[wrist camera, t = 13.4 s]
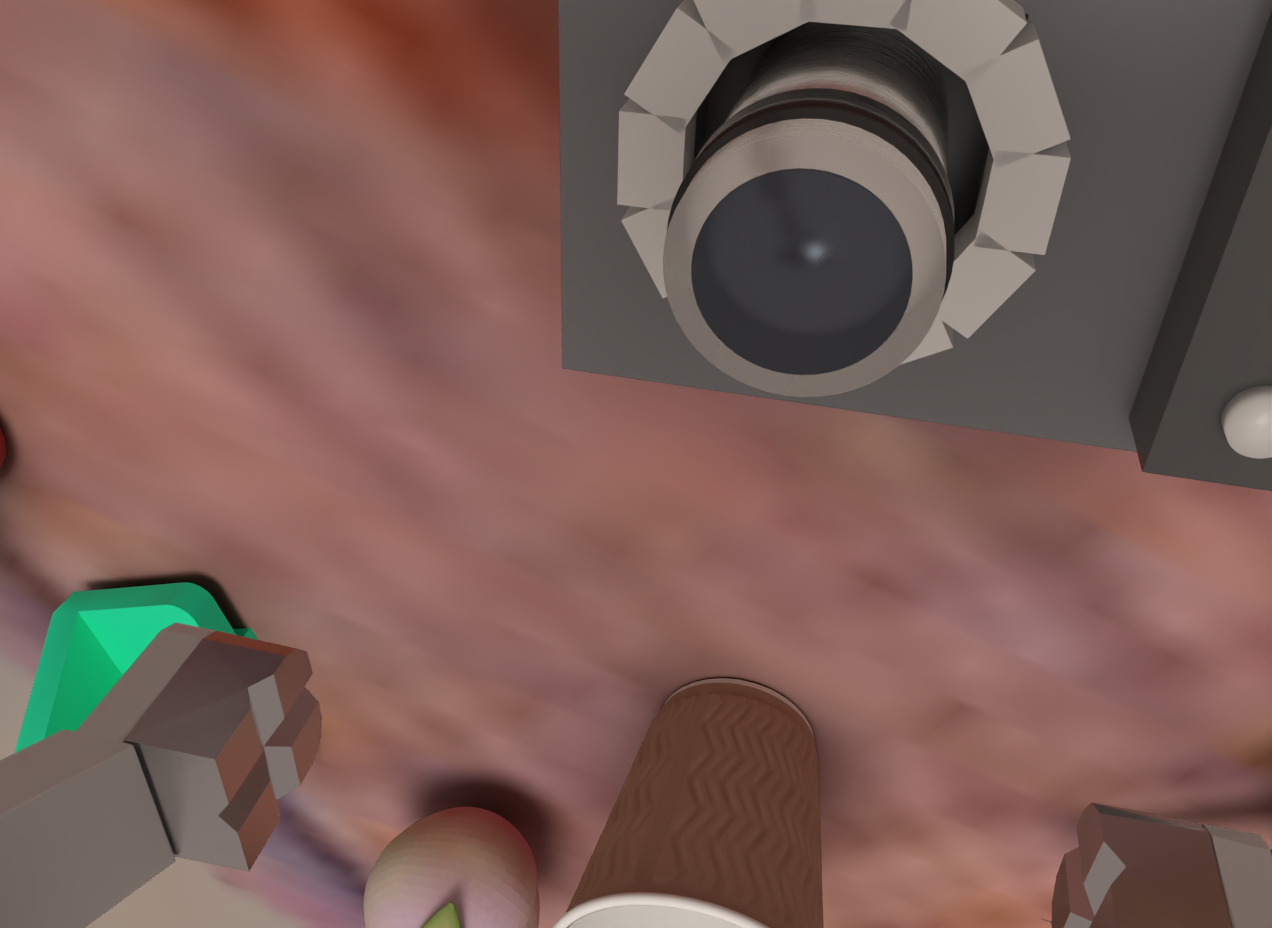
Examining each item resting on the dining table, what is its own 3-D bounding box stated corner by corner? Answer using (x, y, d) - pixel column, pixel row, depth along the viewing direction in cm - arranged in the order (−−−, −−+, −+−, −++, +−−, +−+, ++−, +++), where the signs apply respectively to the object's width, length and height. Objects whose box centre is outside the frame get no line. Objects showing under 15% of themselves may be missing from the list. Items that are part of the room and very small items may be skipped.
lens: (746, -4, 28) (659, 114, 20) (975, 15, 27) (984, 147, 19) (728, 209, 31) (648, 385, 23) (932, 233, 30) (924, 426, 22)
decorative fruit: (403, 741, 54) (308, 923, 46) (562, 773, 52) (494, 966, 44) (422, 856, 59) (340, 1037, 51) (567, 888, 58) (506, 1079, 50)
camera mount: (325, 746, 56) (218, 927, 47) (206, 748, 58) (85, 920, 50) (215, 565, 50) (72, 736, 41) (88, 577, 52) (-71, 740, 44)
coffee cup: (671, 816, 52) (610, 1067, 43) (586, 662, 47) (496, 905, 38) (883, 801, 48) (868, 1074, 39) (814, 631, 43) (777, 894, 34)
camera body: (621, -207, 28) (511, -175, 21) (1462, -162, 25) (1675, -106, 18) (612, 280, 36) (530, 424, 29) (1246, 363, 33) (1331, 549, 26)
